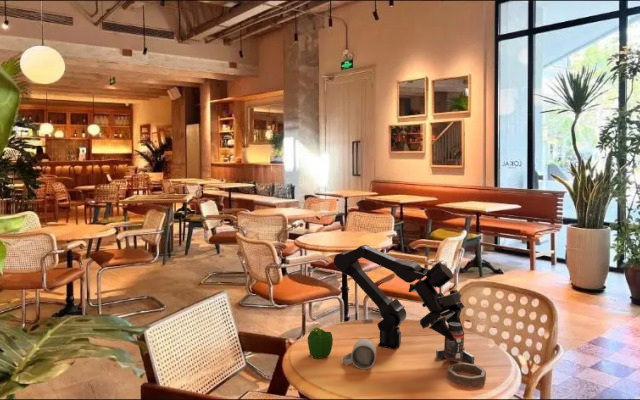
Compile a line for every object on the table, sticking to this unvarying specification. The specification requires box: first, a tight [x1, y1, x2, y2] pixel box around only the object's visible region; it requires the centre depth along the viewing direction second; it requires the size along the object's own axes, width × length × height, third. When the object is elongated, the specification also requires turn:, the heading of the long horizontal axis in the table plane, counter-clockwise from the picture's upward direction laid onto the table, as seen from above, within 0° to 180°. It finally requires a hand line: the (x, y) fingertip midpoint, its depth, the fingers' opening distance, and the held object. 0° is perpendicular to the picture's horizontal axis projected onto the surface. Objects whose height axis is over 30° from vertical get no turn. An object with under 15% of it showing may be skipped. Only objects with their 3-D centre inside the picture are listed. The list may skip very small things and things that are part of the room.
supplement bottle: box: [443, 322, 465, 362], centre depth 164 cm, size 6×6×11 cm
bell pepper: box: [307, 326, 334, 359], centre depth 169 cm, size 8×8×10 cm
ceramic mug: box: [341, 338, 377, 370], centre depth 163 cm, size 11×8×8 cm
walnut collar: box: [446, 361, 487, 388], centre depth 153 cm, size 10×10×2 cm
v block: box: [435, 346, 475, 365], centre depth 168 cm, size 8×12×2 cm, turn 65°
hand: (458, 337), depth 163 cm, fingers closed on supplement bottle, 6 cm apart
